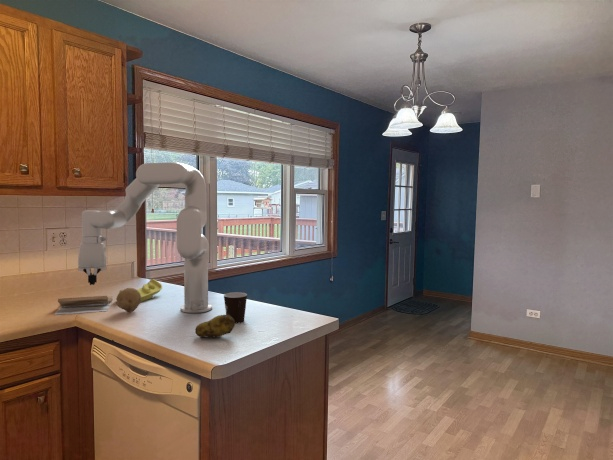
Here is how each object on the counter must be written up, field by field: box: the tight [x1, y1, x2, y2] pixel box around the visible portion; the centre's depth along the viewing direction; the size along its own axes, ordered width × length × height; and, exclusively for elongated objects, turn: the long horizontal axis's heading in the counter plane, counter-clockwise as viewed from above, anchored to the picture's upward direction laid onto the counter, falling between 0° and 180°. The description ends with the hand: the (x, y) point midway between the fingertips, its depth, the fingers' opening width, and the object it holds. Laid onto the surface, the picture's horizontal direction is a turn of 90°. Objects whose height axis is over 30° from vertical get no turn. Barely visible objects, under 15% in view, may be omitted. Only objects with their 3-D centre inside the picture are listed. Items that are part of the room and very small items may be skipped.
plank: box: [57, 295, 109, 307], centre depth 179 cm, size 8×18×1 cm, turn 109°
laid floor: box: [53, 296, 113, 316], centre depth 181 cm, size 21×19×1 cm
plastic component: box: [115, 278, 163, 303], centre depth 196 cm, size 20×7×10 cm
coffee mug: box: [223, 291, 248, 325], centre depth 160 cm, size 12×9×10 cm
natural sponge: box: [116, 287, 141, 313], centre depth 172 cm, size 9×9×10 cm
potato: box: [194, 314, 236, 339], centre depth 142 cm, size 8×13×8 cm, turn 62°
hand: (92, 284), depth 178 cm, fingers closed
